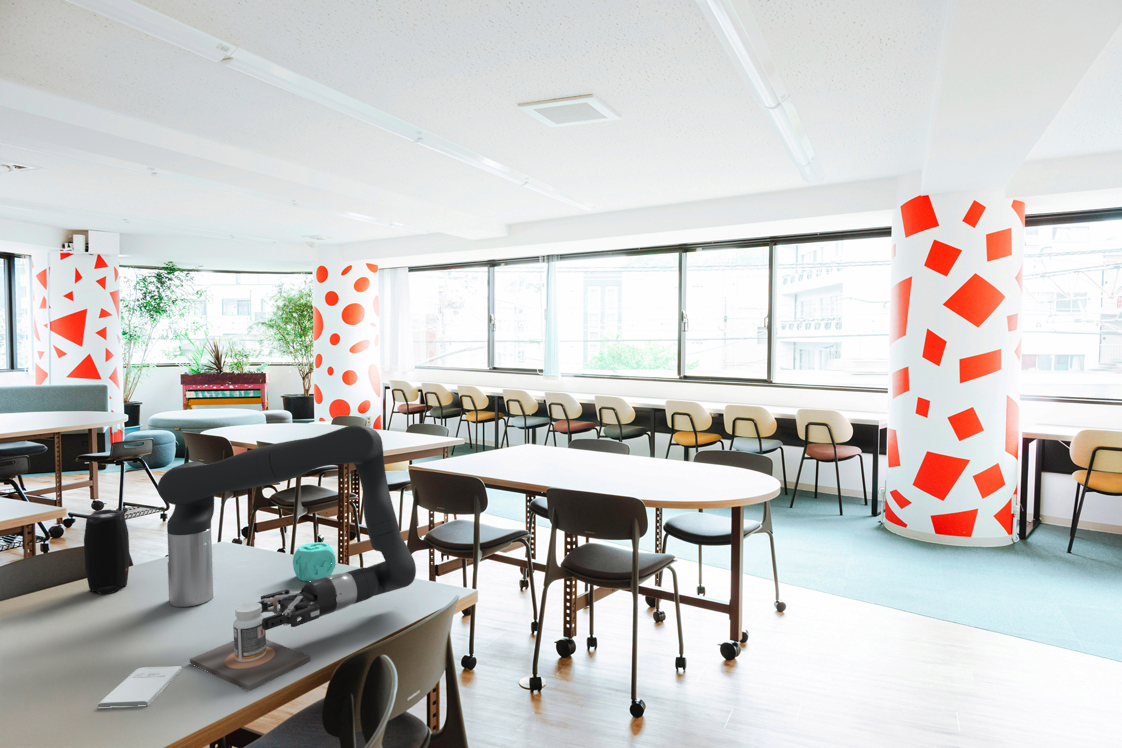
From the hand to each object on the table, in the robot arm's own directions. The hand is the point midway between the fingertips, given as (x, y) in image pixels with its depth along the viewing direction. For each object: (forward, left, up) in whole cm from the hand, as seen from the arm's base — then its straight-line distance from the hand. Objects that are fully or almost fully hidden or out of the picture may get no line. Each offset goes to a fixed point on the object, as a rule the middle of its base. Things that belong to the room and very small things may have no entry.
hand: (253, 618), depth 131 cm
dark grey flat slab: (0, -1, -8) cm, 9 cm away
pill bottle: (0, -1, -8) cm, 8 cm away
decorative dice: (-29, +37, -9) cm, 47 cm away
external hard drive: (-8, -17, -9) cm, 21 cm away
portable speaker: (-66, +4, -9) cm, 66 cm away
